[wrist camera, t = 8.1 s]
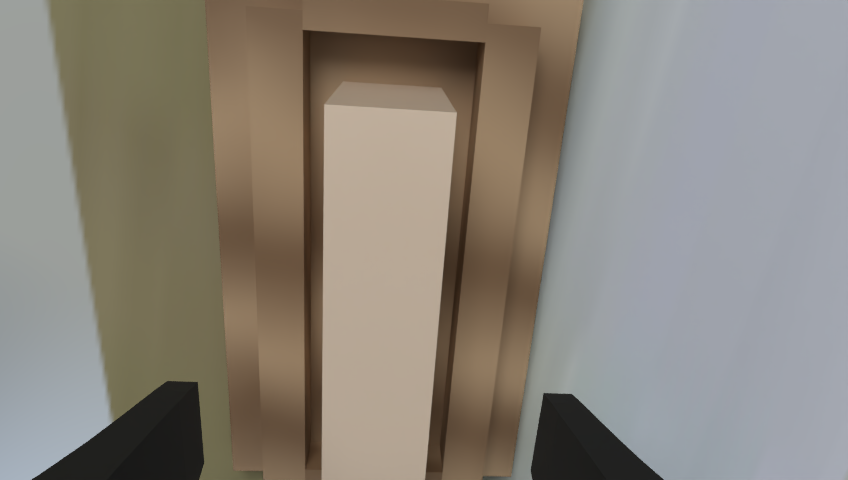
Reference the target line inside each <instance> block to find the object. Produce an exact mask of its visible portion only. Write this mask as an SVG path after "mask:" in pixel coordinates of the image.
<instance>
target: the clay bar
mask: <svg viewBox="0 0 848 480" xmlns="http://www.w3.org/2000/svg"><path fill="white" fill-rule="evenodd" d="M456 117H457V112H456V110H455V109H454V107H453V106H452V104H451V102H450V101H449V99H448V98H447V96H446V94H445V93H444V91H443V90H442V88H439V87H424V86H408V85H393V84H378V83H362V82H347V81H343V82H342V83H341V85H340V86H339V87H338V88H337V89H336V91H335V92H334V93H333V94H332V96H331V97H330V98H329V99H328V100H327V102H326V103H325V104H324V207H323V348H322V480H425V474H426V463H427V451H428V440H429V428H430V417H431V405H432V394H433V382H434V371H435V359H436V348H437V336H438V324H439V313H440V301H441V290H442V278H443V267H444V255H445V244H446V232H447V221H448V209H449V198H450V186H451V175H452V163H453V152H454V140H455V129H456Z"/></svg>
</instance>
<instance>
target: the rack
mask: <svg viewBox="0 0 848 480" xmlns="http://www.w3.org/2000/svg"><path fill="white" fill-rule="evenodd" d="M583 1H584V0H205V7H206V24H207V41H208V57H209V74H210V90H211V107H212V124H213V140H214V157H215V173H216V190H217V207H218V223H219V240H220V256H221V273H222V289H223V306H224V323H225V339H226V356H227V372H228V389H229V406H230V422H231V439H232V455H233V471H263V480H322V348H323V207H324V104H325V103H326V102H327V100H328V99H329V98H330V97H331V96H332V94H333V93H334V92H335V91H336V89H337V88H338V87H339V86H340V85H341V83H342V82H343V81H347V82H362V83H378V84H393V85H408V86H424V87H439V88H442V90H443V91H444V93H445V94H446V96H447V98H448V99H449V101H450V102H451V104H452V106H453V107H454V109H455V110H456V112H457V117H456V129H455V140H454V152H453V163H452V175H451V186H450V198H449V209H448V221H447V232H446V244H445V255H444V267H443V278H442V290H441V301H440V313H439V324H438V336H437V348H436V359H435V371H434V382H433V394H432V405H431V417H430V428H429V440H428V451H427V463H426V474H425V480H482V478H483V476H505V477H511V473H512V466H513V460H514V453H515V446H516V440H517V433H518V427H519V420H520V414H521V407H522V401H523V394H524V387H525V381H526V374H527V368H528V361H529V355H530V348H531V342H532V335H533V328H534V322H535V315H536V309H537V302H538V296H539V289H540V283H541V276H542V269H543V263H544V256H545V250H546V243H547V237H548V230H549V224H550V217H551V210H552V204H553V197H554V191H555V184H556V178H557V171H558V165H559V158H560V151H561V145H562V138H563V132H564V125H565V119H566V112H567V106H568V99H569V92H570V86H571V79H572V73H573V66H574V60H575V53H576V47H577V40H578V34H579V27H580V20H581V14H582V7H583Z"/></svg>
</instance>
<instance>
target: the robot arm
mask: <svg viewBox="0 0 848 480" xmlns="http://www.w3.org/2000/svg"><path fill="white" fill-rule="evenodd" d="M203 464H204V455H203V443H202V430H201V418H200V406H199V393H198V382H176V381H167V382H165V383H164V384H163V385H161V386H160V387H158V388H157V389H156V390H154V391H153V392H152V393H151V394H149V395H148V396H147V397H145V398H144V399H143V400H142V401H140V402H139V403H138V404H136V405H135V406H134V407H133V408H131V409H130V410H129V411H127V412H126V413H125V414H123V415H122V416H121V417H120V418H118V419H117V420H116V421H114V422H113V423H112V424H110V425H109V426H108V427H106V428H105V429H104V430H102V431H101V432H100V433H98V434H97V435H96V436H94V437H93V438H92V439H90V440H89V441H88V442H86V443H85V444H83V445H82V446H80V447H79V448H78V449H76V450H75V451H73V452H72V453H70V454H69V455H67V456H66V457H64V458H63V459H62V460H60V461H59V462H57V463H56V464H54V465H53V466H51V467H50V468H48V469H47V470H46V471H44V472H43V473H41V474H40V475H38V476H37V477H35V478H33V479H32V480H199V478H200V474H201V471H202V468H203ZM531 474H532V479H533V480H664V479H662V478H661V477H660V476H659V475H658V474H656V473H655V472H654V471H653V470H652V469H651V468H650V467H648V466H647V465H646V464H645V463H644V462H643V461H642V460H641V459H639V458H638V457H637V456H636V455H635V454H634V453H633V452H632V451H631V450H630V449H629V448H628V447H626V446H625V445H624V444H623V443H622V442H621V441H620V440H619V439H618V438H617V437H616V436H615V435H614V434H613V433H612V432H611V431H610V430H609V429H608V428H607V427H606V426H605V425H603V424H602V423H601V422H600V421H599V420H598V419H597V418H596V417H595V416H594V415H593V414H592V413H591V412H590V411H589V410H588V409H587V408H586V407H585V406H584V405H583V404H582V403H581V402H580V401H579V400H578V399H577V398H576V397H575V396H573V395H572V394H551V393H544V395H543V401H542V407H541V413H540V418H539V424H538V430H537V436H536V442H535V448H534V454H533V460H532V466H531Z"/></svg>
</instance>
